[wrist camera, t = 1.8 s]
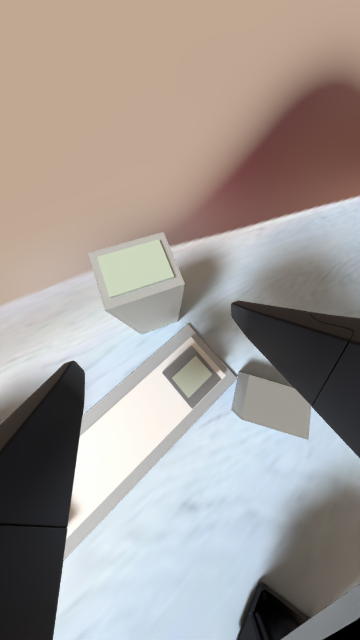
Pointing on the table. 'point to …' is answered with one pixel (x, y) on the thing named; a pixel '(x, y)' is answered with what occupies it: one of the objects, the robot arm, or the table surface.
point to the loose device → (271, 405)
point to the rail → (134, 433)
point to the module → (140, 282)
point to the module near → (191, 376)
